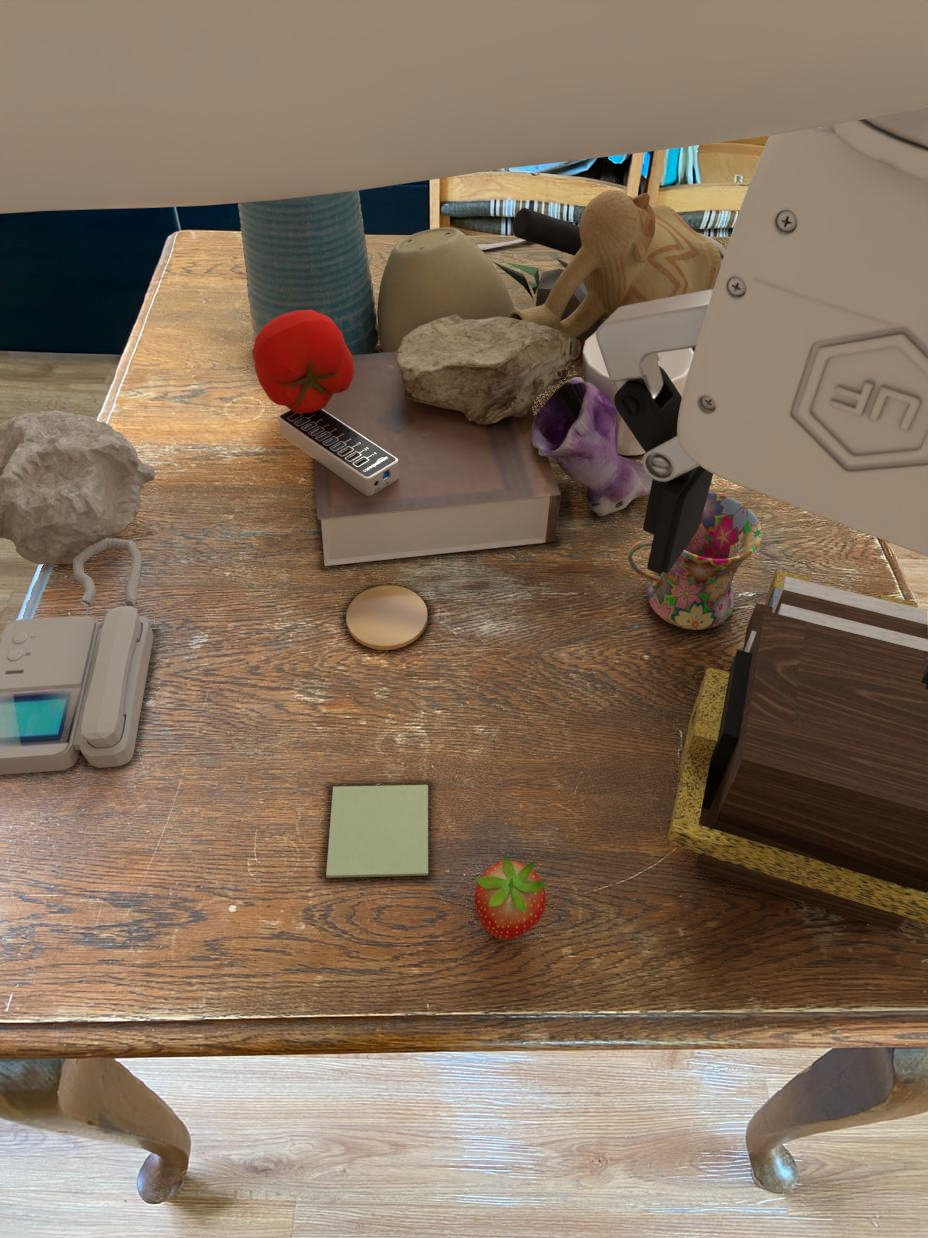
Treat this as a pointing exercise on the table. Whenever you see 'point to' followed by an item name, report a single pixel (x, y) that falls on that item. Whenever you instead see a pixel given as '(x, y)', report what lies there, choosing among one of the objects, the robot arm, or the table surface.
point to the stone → (65, 484)
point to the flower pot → (437, 284)
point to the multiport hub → (340, 450)
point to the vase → (310, 263)
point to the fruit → (509, 898)
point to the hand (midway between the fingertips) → (799, 603)
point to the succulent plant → (545, 288)
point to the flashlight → (547, 231)
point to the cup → (597, 374)
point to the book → (432, 477)
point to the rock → (483, 365)
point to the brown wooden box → (815, 755)
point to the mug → (704, 566)
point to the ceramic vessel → (627, 262)
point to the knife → (499, 244)
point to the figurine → (588, 446)
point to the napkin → (378, 831)
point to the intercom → (75, 680)
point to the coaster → (386, 617)
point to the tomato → (302, 360)
